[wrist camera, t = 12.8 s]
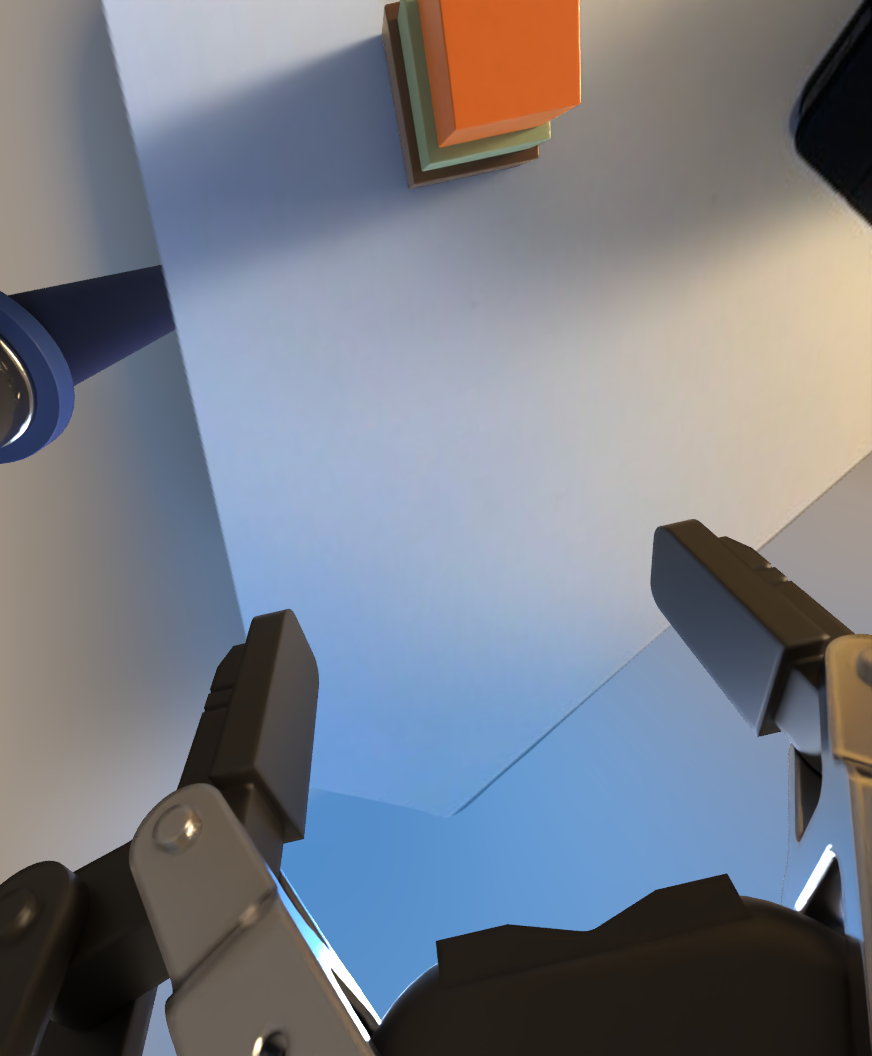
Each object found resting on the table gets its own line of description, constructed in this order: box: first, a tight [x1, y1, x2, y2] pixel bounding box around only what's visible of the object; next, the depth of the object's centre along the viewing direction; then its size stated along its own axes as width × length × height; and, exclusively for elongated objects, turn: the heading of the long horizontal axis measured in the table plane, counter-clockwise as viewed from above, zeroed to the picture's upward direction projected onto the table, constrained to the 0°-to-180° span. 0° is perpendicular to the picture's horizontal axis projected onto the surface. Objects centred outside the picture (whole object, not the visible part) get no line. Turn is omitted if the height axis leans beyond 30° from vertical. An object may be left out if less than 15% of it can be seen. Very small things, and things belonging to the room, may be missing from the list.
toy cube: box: [418, 0, 581, 148], centre depth 19 cm, size 5×5×5 cm
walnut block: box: [382, 2, 539, 189], centre depth 26 cm, size 7×7×4 cm
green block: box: [397, 0, 551, 171], centre depth 23 cm, size 6×6×4 cm
